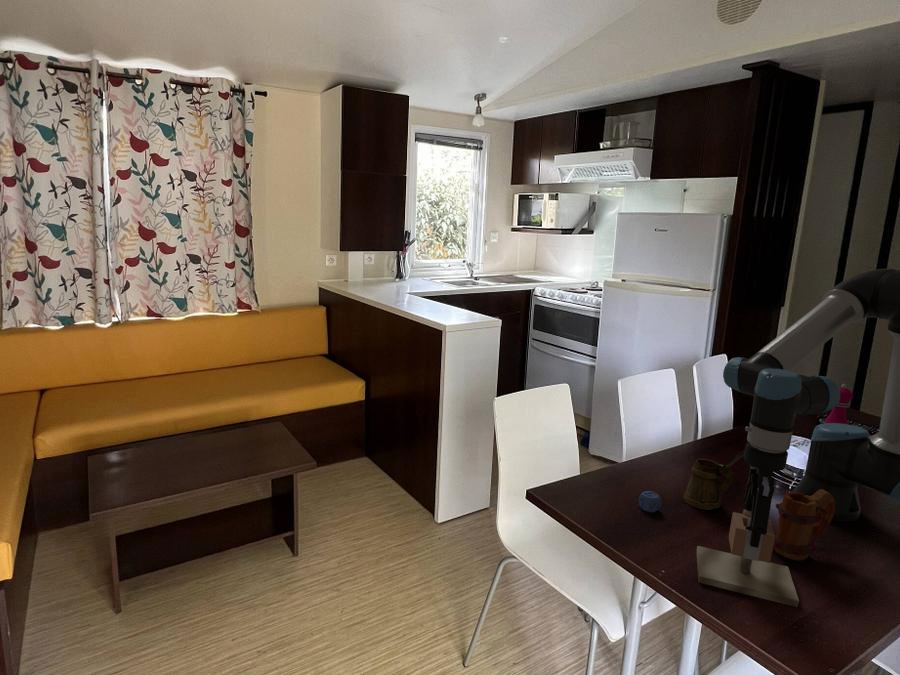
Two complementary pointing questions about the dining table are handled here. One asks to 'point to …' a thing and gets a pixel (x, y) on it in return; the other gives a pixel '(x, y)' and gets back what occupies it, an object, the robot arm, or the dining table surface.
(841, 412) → the pepper mill
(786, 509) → the mug
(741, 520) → the bead
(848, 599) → the dining table surface
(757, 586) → the peg stand
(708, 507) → the wooden mug
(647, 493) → the decorative dice
